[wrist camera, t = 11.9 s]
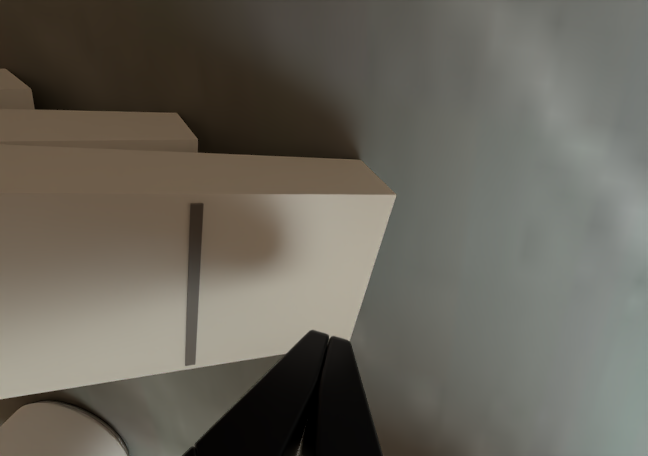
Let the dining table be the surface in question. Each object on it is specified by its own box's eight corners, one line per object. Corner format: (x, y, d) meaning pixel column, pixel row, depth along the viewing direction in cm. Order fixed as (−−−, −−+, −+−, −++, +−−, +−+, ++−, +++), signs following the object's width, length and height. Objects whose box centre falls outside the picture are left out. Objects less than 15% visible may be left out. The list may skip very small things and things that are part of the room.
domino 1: (397, 195, 10) (-125, 194, 6) (349, 344, 12) (-37, 407, 8) (359, 158, 11) (-69, 139, 8) (324, 297, 14) (-10, 332, 10)
